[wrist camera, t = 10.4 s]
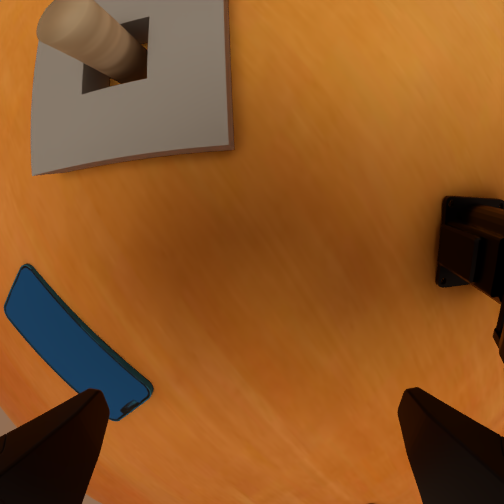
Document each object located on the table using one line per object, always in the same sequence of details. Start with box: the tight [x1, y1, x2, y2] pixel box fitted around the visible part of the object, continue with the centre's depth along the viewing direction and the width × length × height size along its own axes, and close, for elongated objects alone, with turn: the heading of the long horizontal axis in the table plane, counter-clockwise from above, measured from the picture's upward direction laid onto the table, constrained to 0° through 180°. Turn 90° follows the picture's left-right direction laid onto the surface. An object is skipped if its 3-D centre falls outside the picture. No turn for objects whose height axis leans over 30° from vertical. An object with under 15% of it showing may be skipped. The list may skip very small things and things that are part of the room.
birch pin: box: [37, 0, 148, 84], centre depth 11 cm, size 3×3×9 cm
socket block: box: [31, 0, 234, 176], centre depth 14 cm, size 12×12×4 cm
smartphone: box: [4, 264, 153, 421], centre depth 21 cm, size 7×1×15 cm
